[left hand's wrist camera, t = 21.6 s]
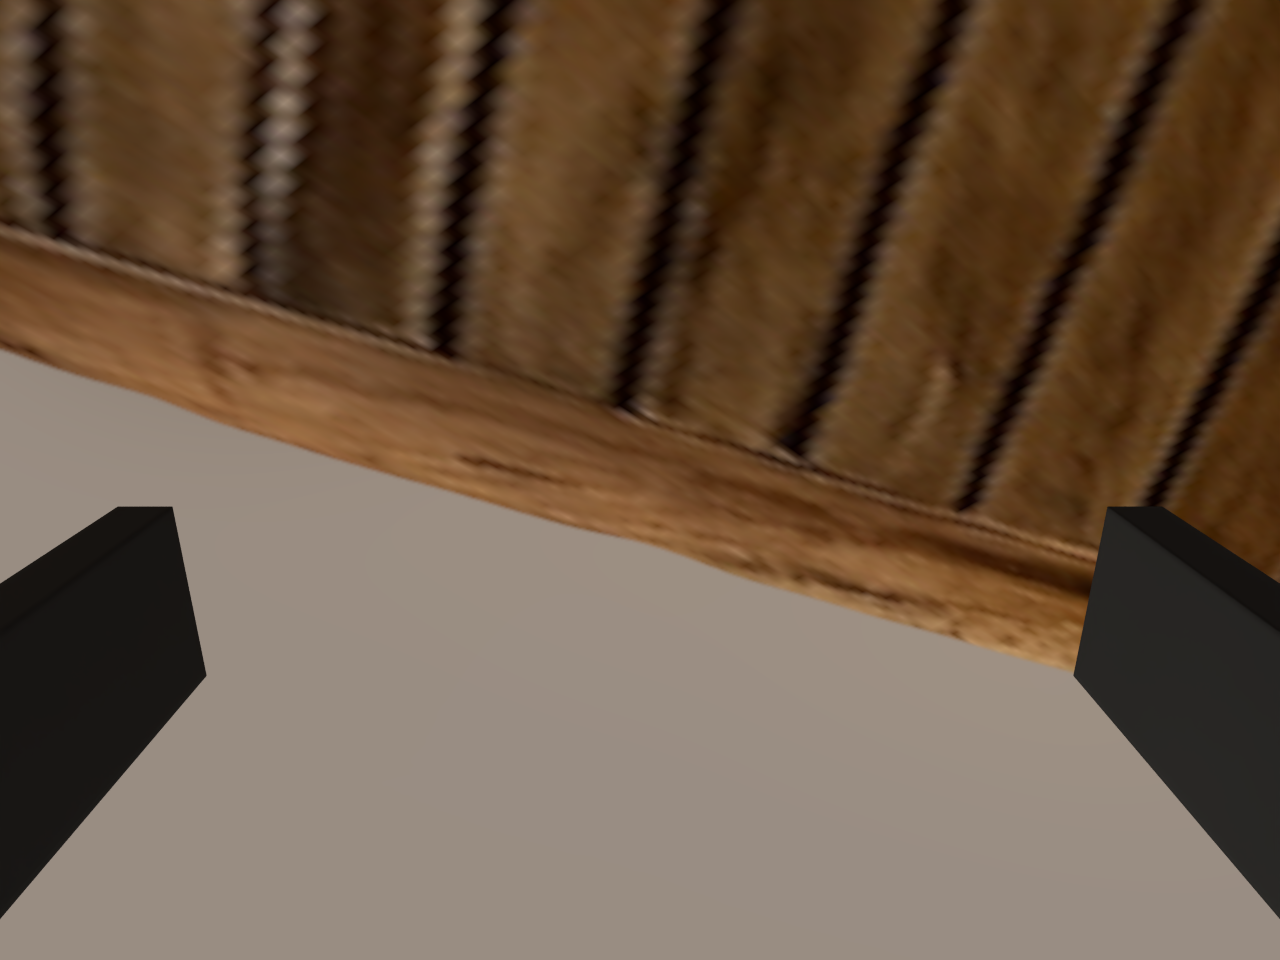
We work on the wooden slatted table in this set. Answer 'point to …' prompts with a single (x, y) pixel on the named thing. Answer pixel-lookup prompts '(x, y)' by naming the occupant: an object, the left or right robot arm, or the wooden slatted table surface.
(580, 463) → the wooden slatted table surface
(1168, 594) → the left robot arm
